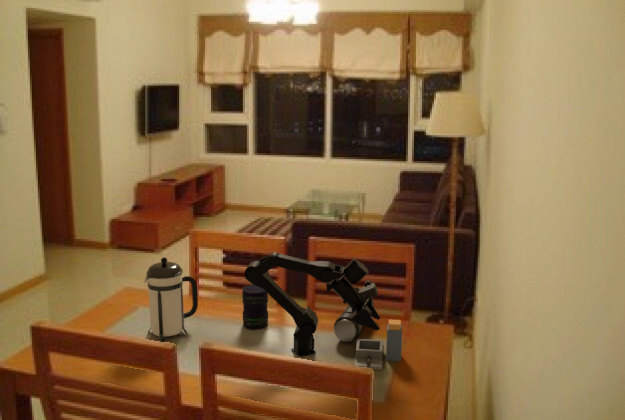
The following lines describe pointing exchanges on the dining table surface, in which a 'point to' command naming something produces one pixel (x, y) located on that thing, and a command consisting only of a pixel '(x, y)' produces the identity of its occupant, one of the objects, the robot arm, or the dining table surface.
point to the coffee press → (168, 298)
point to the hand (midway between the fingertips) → (379, 324)
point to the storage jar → (254, 307)
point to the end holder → (369, 353)
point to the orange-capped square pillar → (394, 340)
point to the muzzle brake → (347, 326)
